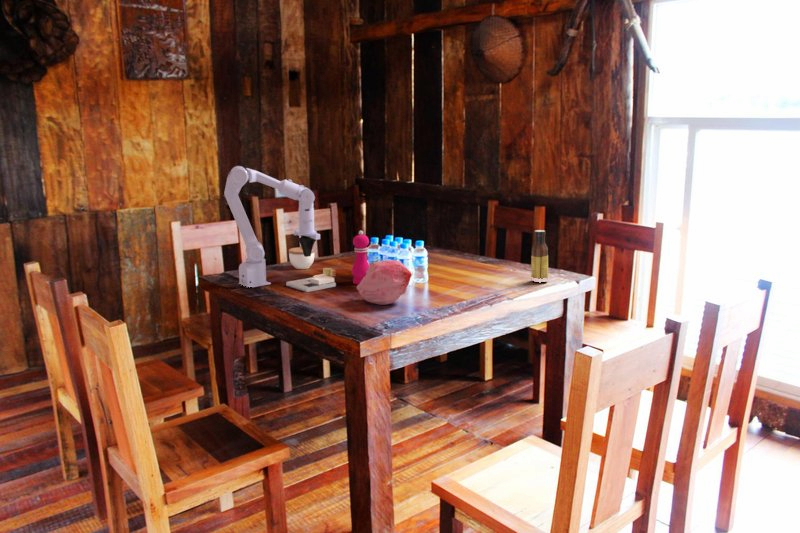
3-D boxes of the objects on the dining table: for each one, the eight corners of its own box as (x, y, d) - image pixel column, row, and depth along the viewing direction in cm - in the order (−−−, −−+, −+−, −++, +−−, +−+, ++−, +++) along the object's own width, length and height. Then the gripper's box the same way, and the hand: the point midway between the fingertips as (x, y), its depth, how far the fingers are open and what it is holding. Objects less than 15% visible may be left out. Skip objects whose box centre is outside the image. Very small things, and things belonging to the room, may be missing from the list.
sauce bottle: (546, 280, 265) (549, 229, 261) (548, 284, 259) (551, 232, 254) (529, 279, 265) (531, 229, 261) (531, 283, 259) (533, 231, 255)
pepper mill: (368, 285, 255) (367, 232, 251) (349, 284, 257) (348, 231, 253) (372, 281, 262) (372, 229, 258) (354, 280, 264) (354, 228, 260)
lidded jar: (292, 271, 280) (291, 248, 278) (286, 266, 289) (285, 244, 287) (317, 269, 283) (317, 246, 282) (311, 264, 293) (310, 242, 291)
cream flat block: (318, 284, 249) (318, 278, 249) (310, 282, 253) (310, 276, 252) (334, 281, 254) (334, 275, 253) (326, 279, 257) (326, 273, 257)
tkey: (320, 280, 264) (320, 268, 263) (328, 278, 266) (328, 266, 265) (330, 282, 259) (329, 270, 258) (338, 281, 262) (337, 269, 261)
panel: (306, 292, 245) (306, 288, 244) (286, 285, 254) (286, 281, 254) (335, 286, 253) (335, 282, 253) (315, 280, 263) (315, 276, 262)
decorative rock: (419, 282, 236) (395, 246, 235) (420, 288, 222) (394, 249, 221) (374, 312, 238) (349, 276, 236) (372, 319, 223) (346, 281, 222)
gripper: (326, 221, 254) (327, 257, 257) (304, 217, 264) (305, 252, 267) (310, 223, 249) (311, 259, 252) (288, 219, 260) (289, 254, 262)
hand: (307, 256), depth 259 cm, fingers closed
